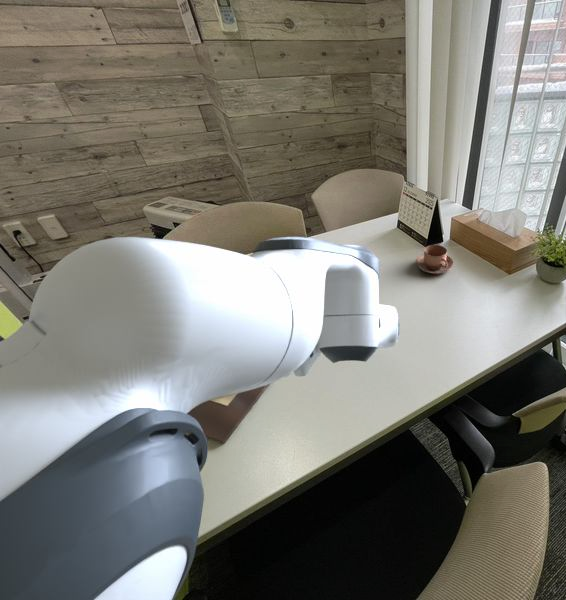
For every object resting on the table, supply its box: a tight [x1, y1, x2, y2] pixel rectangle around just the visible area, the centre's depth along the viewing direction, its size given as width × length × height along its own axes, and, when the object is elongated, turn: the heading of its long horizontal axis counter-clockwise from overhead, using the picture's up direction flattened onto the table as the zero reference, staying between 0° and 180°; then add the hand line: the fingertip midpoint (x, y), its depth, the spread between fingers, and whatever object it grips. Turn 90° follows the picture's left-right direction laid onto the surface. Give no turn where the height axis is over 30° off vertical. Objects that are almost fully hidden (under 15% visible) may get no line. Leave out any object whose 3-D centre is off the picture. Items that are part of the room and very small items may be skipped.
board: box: [187, 384, 270, 445], centre depth 69 cm, size 20×16×1 cm
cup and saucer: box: [416, 244, 454, 275], centre depth 106 cm, size 12×12×6 cm
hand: (233, 331), depth 59 cm, fingers open, 8 cm apart
